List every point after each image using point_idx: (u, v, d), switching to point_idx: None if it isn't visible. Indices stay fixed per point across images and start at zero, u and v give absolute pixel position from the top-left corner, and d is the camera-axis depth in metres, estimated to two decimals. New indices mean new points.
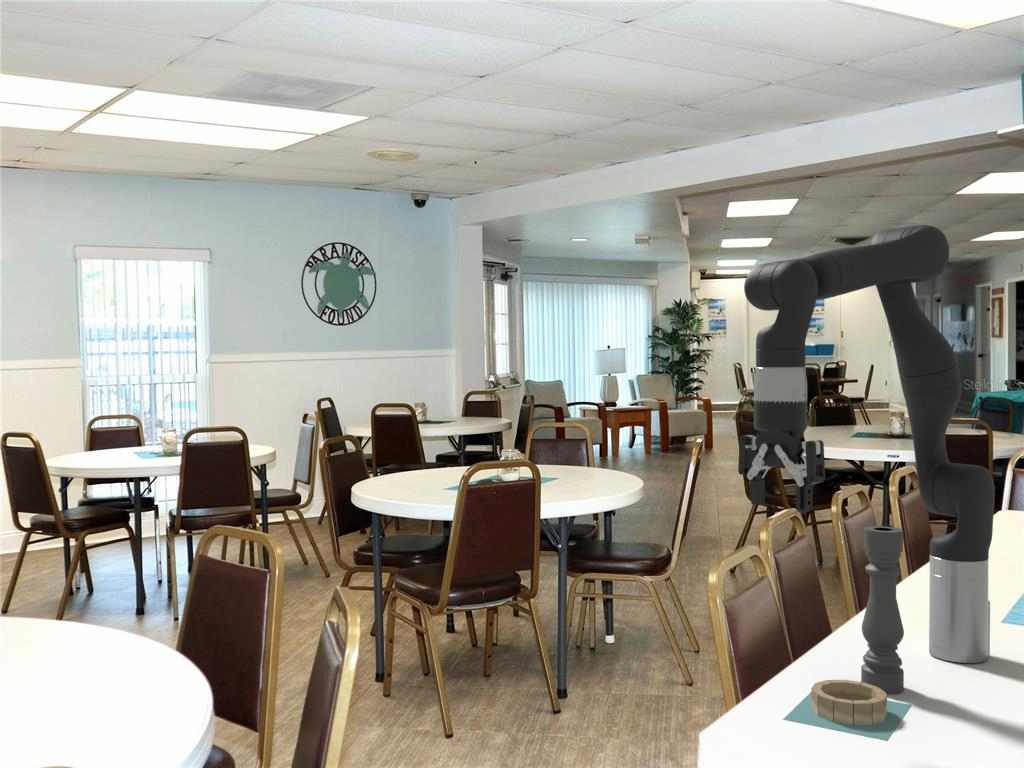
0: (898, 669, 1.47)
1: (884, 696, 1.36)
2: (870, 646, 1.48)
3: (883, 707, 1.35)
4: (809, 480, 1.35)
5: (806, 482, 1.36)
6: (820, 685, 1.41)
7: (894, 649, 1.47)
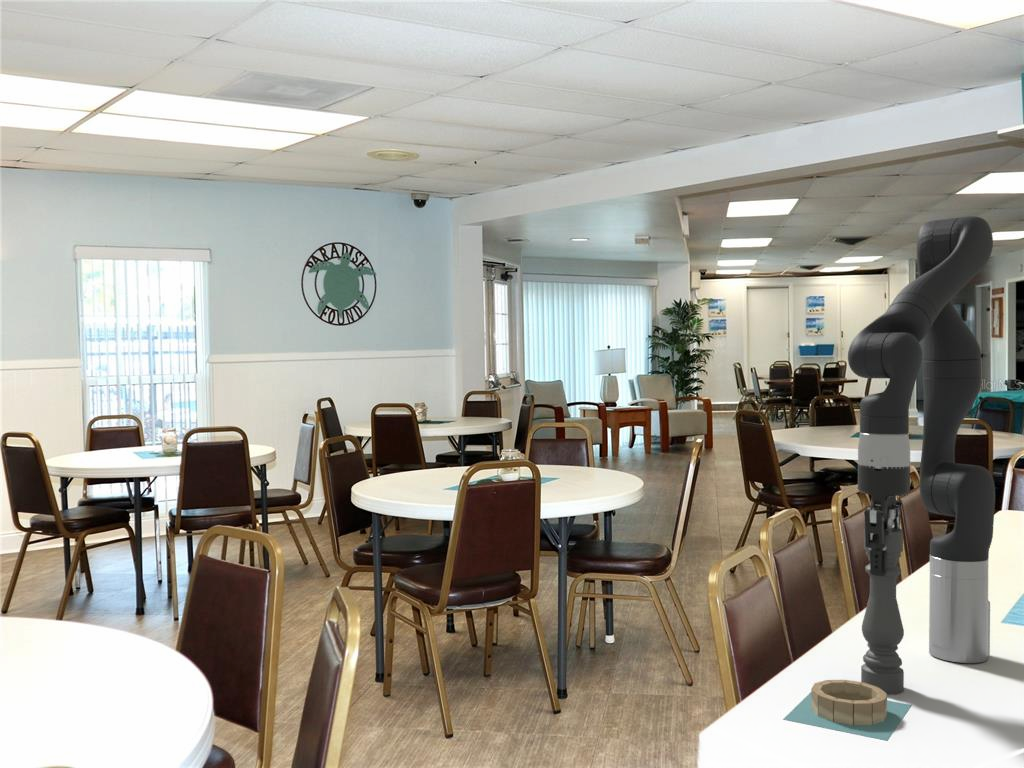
0: (898, 669, 1.47)
1: (884, 696, 1.36)
2: (870, 646, 1.48)
3: (883, 707, 1.35)
4: None
5: None
6: (820, 685, 1.41)
7: (894, 649, 1.47)
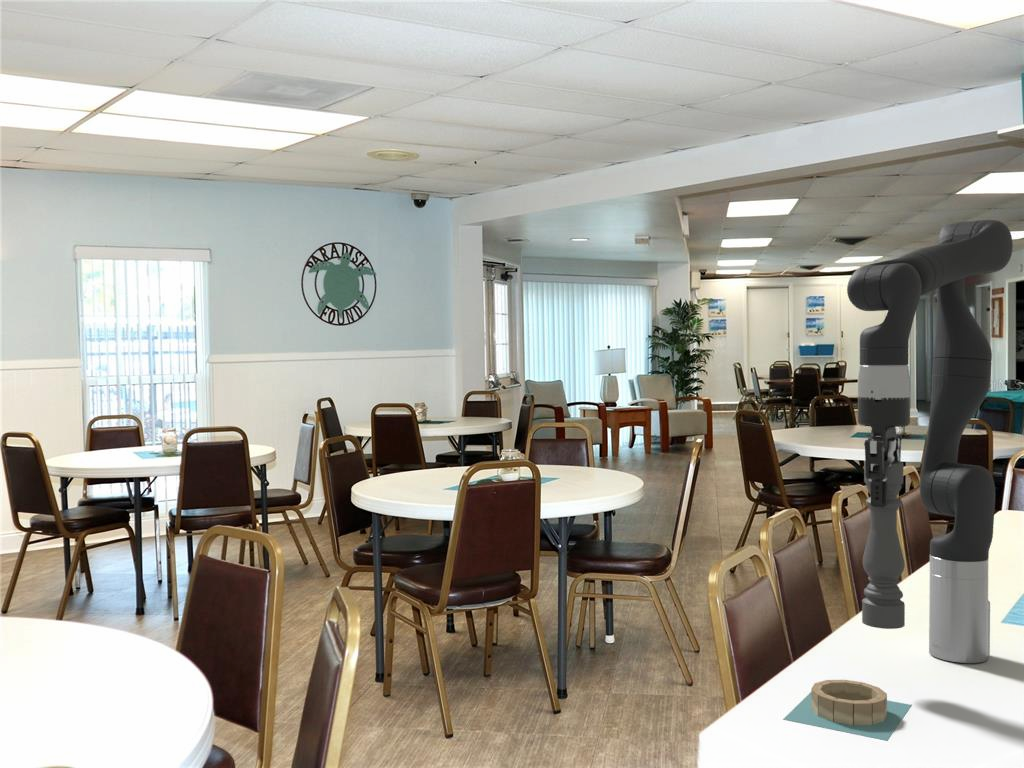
0: (899, 601, 1.47)
1: (884, 696, 1.36)
2: (871, 579, 1.48)
3: (883, 707, 1.35)
4: None
5: None
6: (820, 685, 1.41)
7: (895, 581, 1.47)
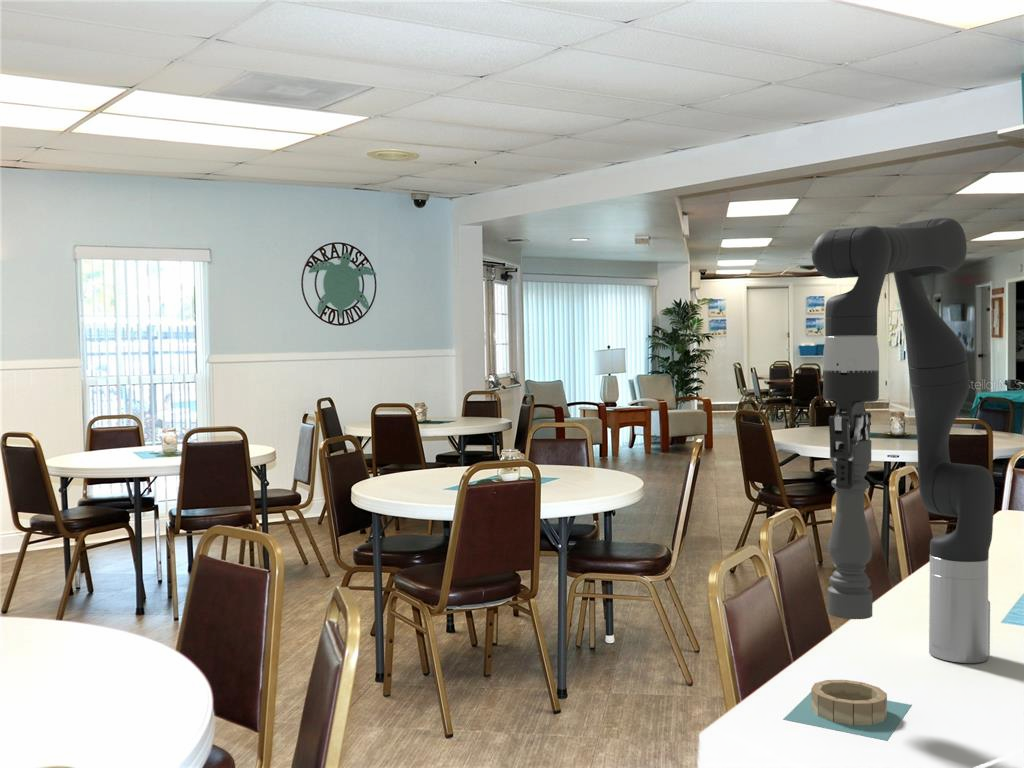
0: (866, 590, 1.37)
1: (884, 696, 1.36)
2: (836, 566, 1.38)
3: (883, 707, 1.35)
4: None
5: None
6: (820, 685, 1.41)
7: (862, 568, 1.36)
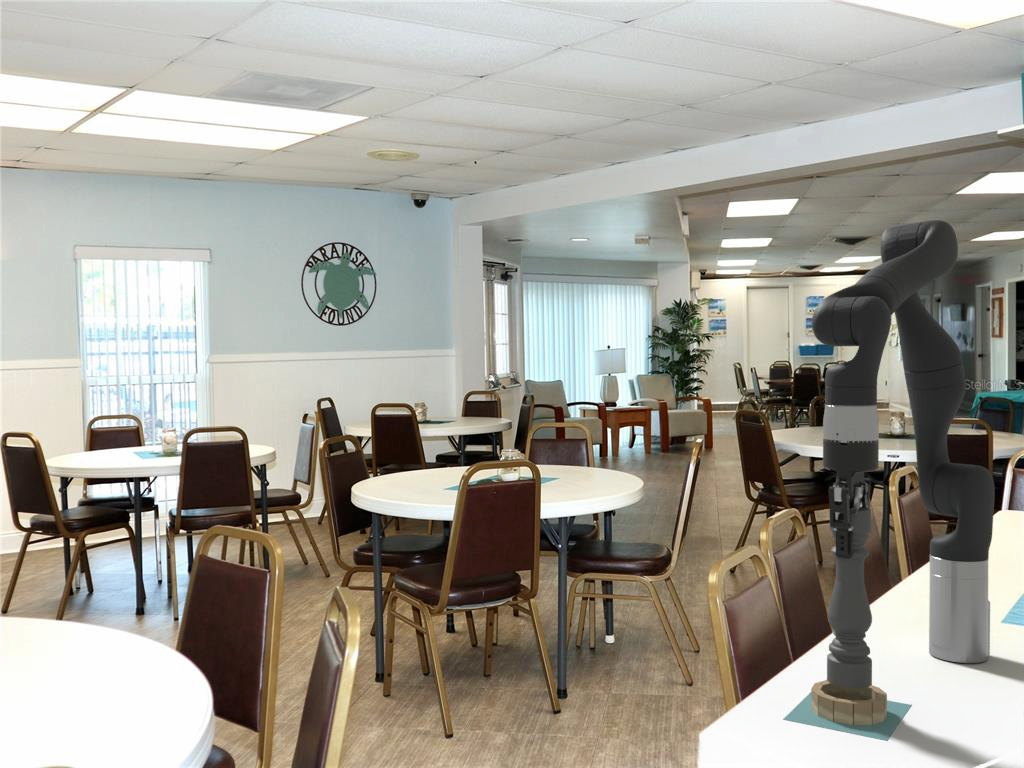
0: (866, 658, 1.37)
1: (884, 696, 1.36)
2: (836, 634, 1.38)
3: (883, 707, 1.35)
4: None
5: None
6: (820, 685, 1.41)
7: (861, 637, 1.37)
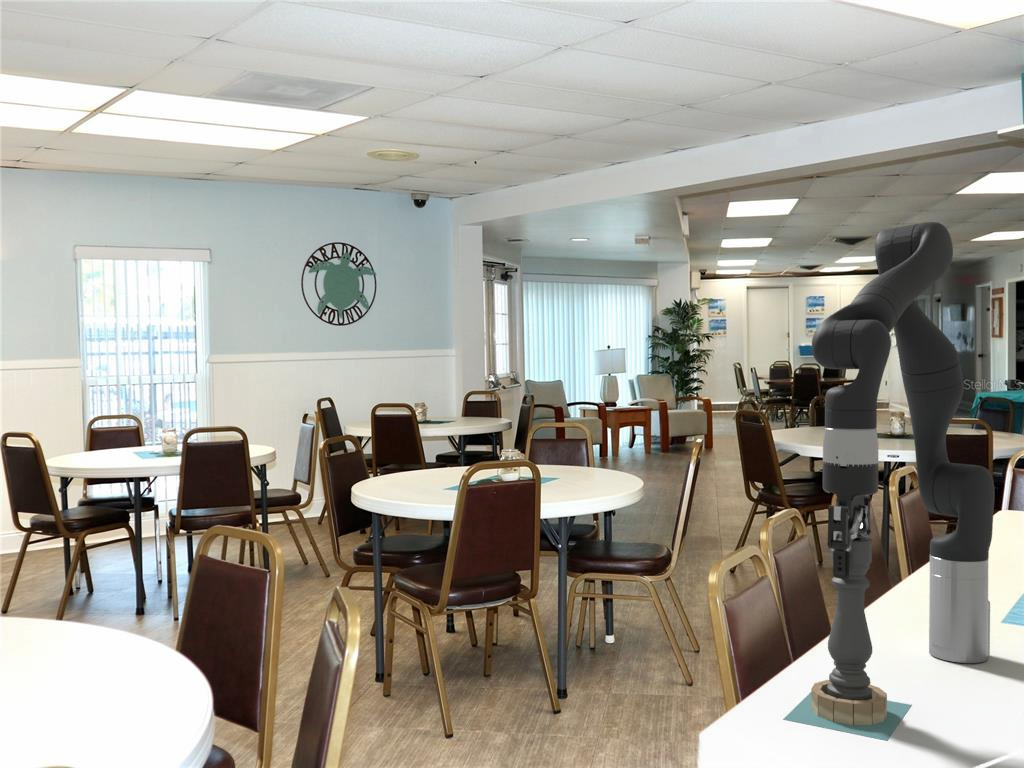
0: (866, 689, 1.37)
1: (884, 696, 1.36)
2: (836, 664, 1.38)
3: (883, 707, 1.35)
4: (869, 533, 1.43)
5: None
6: (820, 685, 1.41)
7: (862, 667, 1.37)
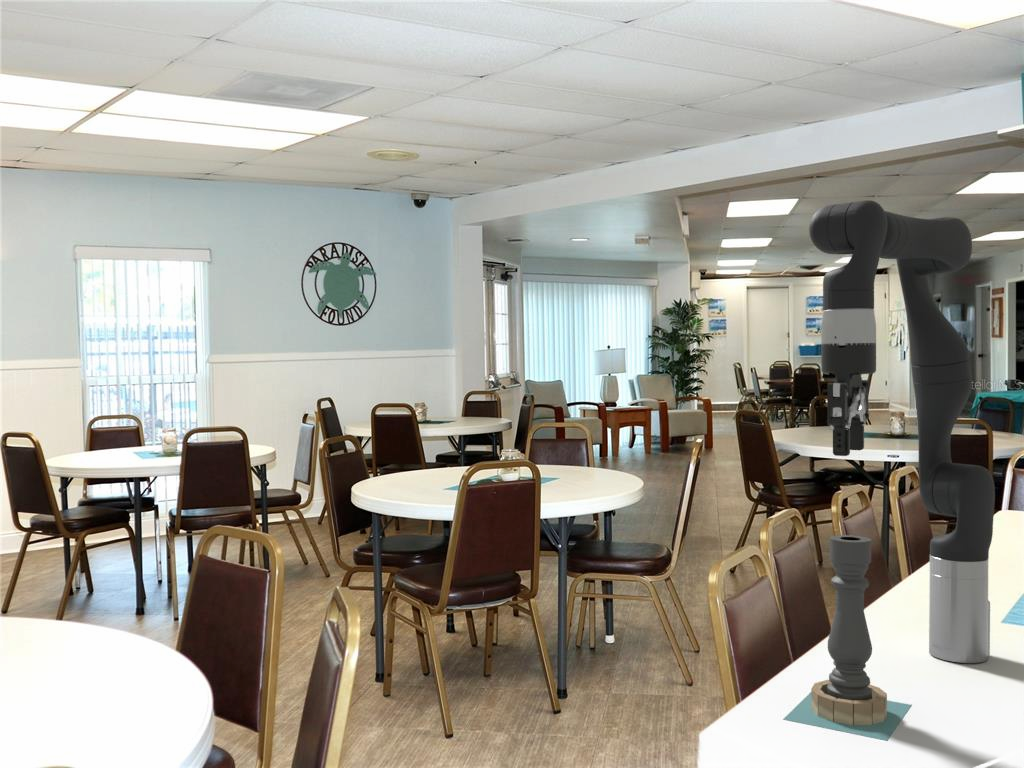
0: (866, 689, 1.37)
1: (884, 696, 1.36)
2: (836, 664, 1.38)
3: (883, 707, 1.35)
4: (868, 416, 1.45)
5: None
6: (820, 685, 1.41)
7: (862, 667, 1.37)
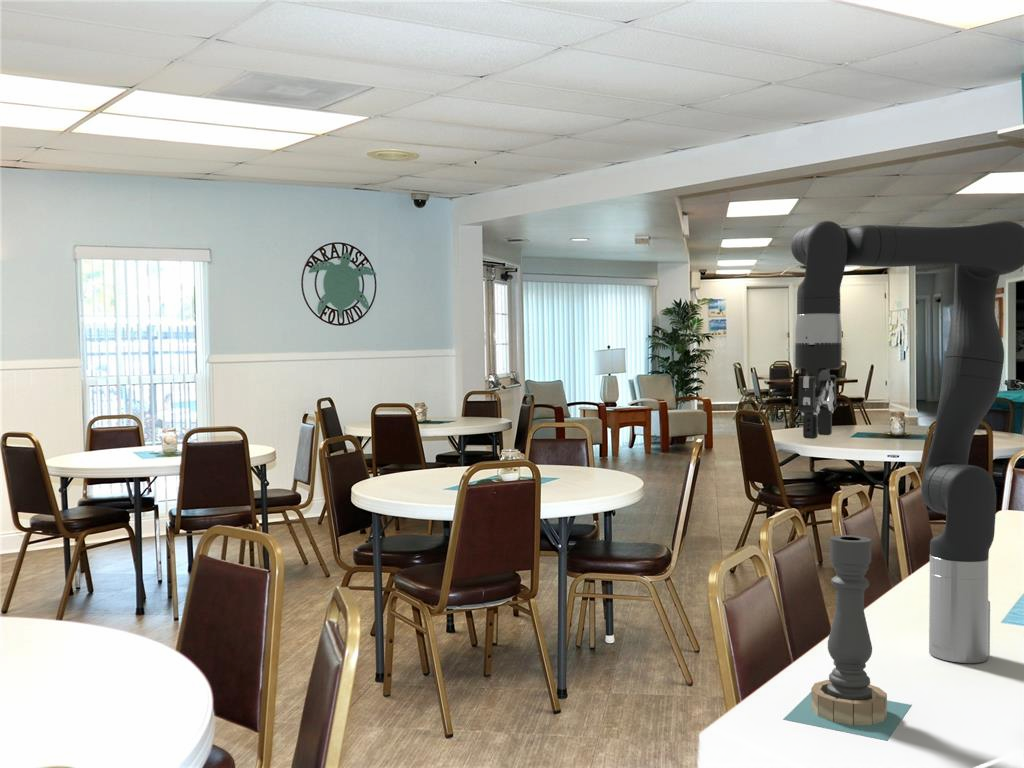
0: (866, 689, 1.37)
1: (884, 696, 1.36)
2: (836, 664, 1.38)
3: (883, 707, 1.35)
4: (835, 406, 1.68)
5: None
6: (820, 685, 1.41)
7: (862, 667, 1.37)
